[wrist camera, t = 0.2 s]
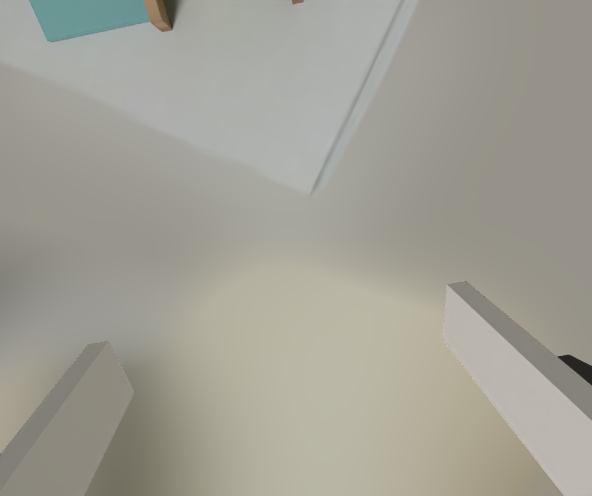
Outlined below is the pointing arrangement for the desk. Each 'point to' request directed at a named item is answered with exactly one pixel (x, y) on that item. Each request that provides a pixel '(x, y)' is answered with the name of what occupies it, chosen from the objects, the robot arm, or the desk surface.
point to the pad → (86, 16)
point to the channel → (160, 16)
